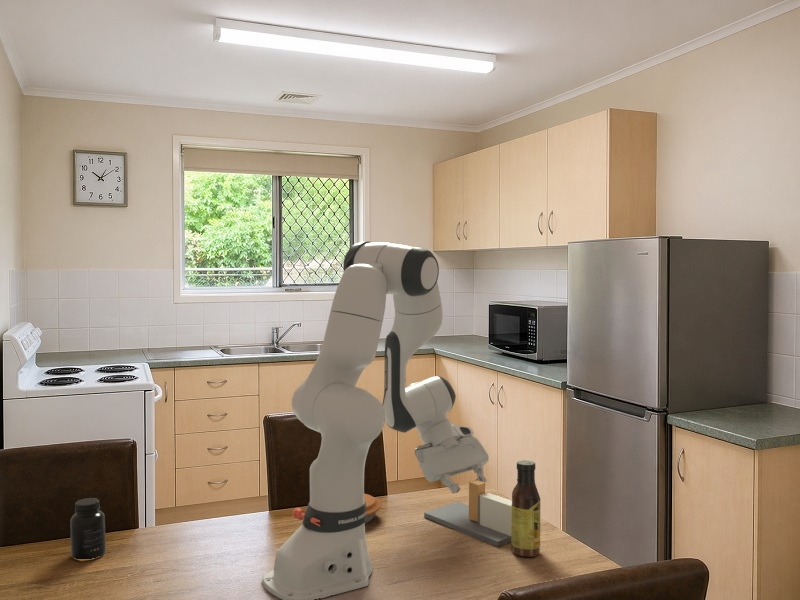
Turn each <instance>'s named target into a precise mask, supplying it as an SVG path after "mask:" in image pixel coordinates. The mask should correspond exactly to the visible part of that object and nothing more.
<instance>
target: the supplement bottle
mask: <svg viewBox="0 0 800 600" xmlns="http://www.w3.org/2000/svg"><path fill="white" fill-rule="evenodd" d="M100 509H101V506H100V499H98V498H95V497H88V498H83V499H82V498H81V499H79V500H77V501H76V502H75V503H74V514H72V516H71V518H70V525H69V527H70V553H71V555H72V556H71V558H72V557H74V558H76V559H92V558H96V557H98V556H101V555H103V554H105V553H106V549H107V547H106V518H105V513H104V512H103V511H102V510H100ZM101 557H102V556H101Z"/></svg>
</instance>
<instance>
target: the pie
mask: <svg viewBox="0 0 800 600" xmlns="http://www.w3.org/2000/svg"><path fill="white" fill-rule="evenodd" d="M364 501H365V502H366V521H365V523H366V524H368V522H369V523H370V522H371V521H372V520H373V518H375V515H376V514H377V512H378V511H379V510H380V509H381V508H382V506H383V505H382V501H381V500H380V499H378V498H376V497H374V496H372V495H370V494H368V493H364Z"/></svg>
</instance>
